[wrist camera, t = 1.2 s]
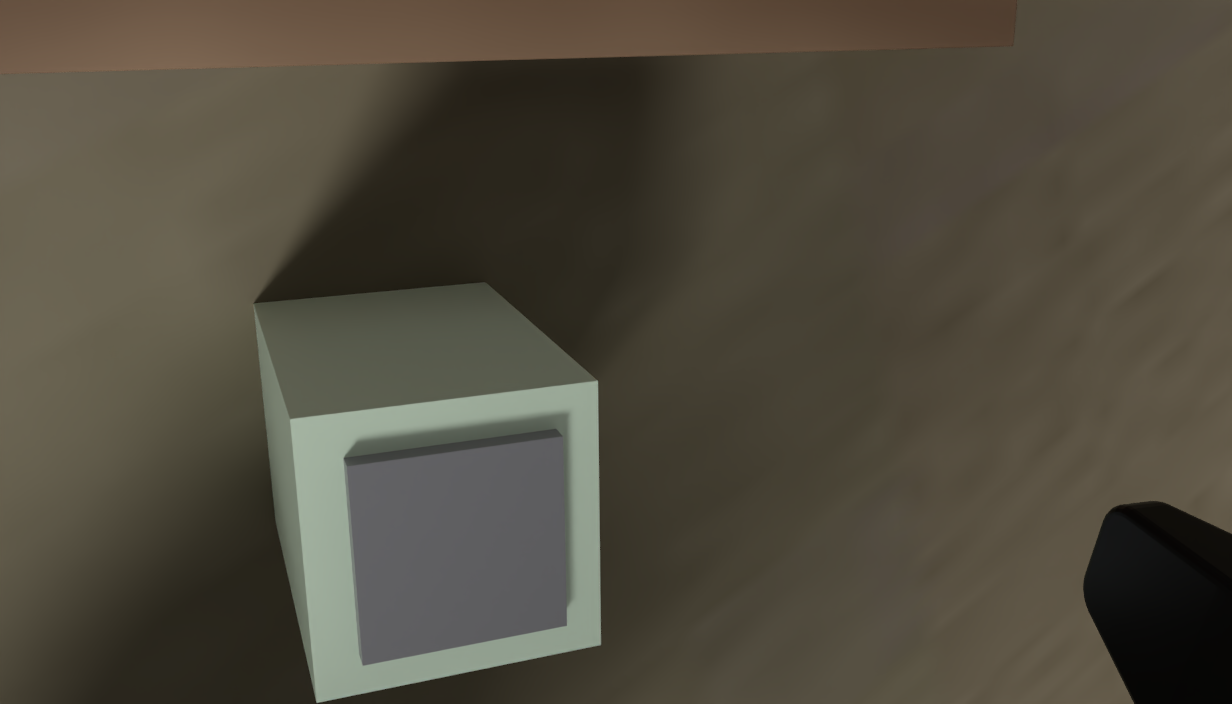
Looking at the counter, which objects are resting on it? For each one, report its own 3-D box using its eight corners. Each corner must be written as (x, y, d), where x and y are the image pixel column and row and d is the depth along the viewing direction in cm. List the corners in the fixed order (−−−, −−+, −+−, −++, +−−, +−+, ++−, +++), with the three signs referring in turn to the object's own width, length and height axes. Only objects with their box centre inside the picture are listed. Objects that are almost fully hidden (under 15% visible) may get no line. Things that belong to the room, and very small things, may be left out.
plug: (493, 487, 22) (608, 655, 17) (274, 521, 21) (319, 715, 15) (485, 282, 21) (606, 387, 15) (253, 303, 20) (291, 427, 14)
